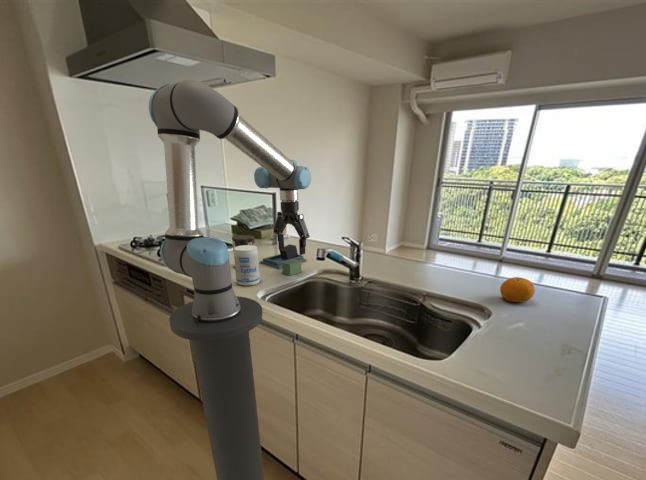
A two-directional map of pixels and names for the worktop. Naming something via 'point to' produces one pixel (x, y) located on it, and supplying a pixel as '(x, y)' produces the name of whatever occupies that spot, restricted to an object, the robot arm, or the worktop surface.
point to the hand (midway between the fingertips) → (291, 251)
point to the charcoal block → (288, 252)
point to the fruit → (517, 289)
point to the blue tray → (279, 260)
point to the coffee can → (242, 240)
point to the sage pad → (291, 267)
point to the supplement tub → (246, 265)
